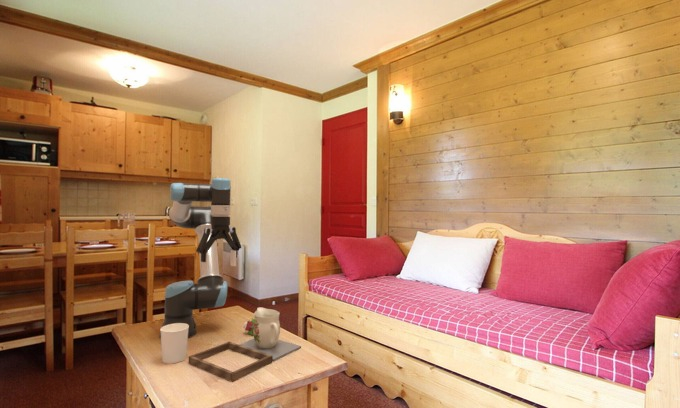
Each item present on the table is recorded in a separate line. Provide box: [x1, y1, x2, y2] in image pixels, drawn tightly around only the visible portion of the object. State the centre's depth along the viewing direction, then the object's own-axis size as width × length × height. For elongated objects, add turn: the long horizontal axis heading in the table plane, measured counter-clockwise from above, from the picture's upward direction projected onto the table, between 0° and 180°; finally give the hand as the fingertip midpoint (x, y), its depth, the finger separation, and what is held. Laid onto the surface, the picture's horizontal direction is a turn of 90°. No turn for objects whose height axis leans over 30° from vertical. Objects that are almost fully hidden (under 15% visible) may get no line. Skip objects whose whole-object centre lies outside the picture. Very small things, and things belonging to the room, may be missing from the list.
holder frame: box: [187, 341, 273, 383], centre depth 132 cm, size 24×18×2 cm
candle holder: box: [159, 323, 189, 365], centre depth 135 cm, size 10×10×12 cm
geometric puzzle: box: [243, 317, 255, 337], centre depth 163 cm, size 7×7×8 cm
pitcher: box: [253, 306, 281, 349], centre depth 146 cm, size 11×18×14 cm, turn 36°
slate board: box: [238, 338, 302, 362], centre depth 146 cm, size 22×16×1 cm
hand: (219, 268), depth 146 cm, fingers open, 13 cm apart
